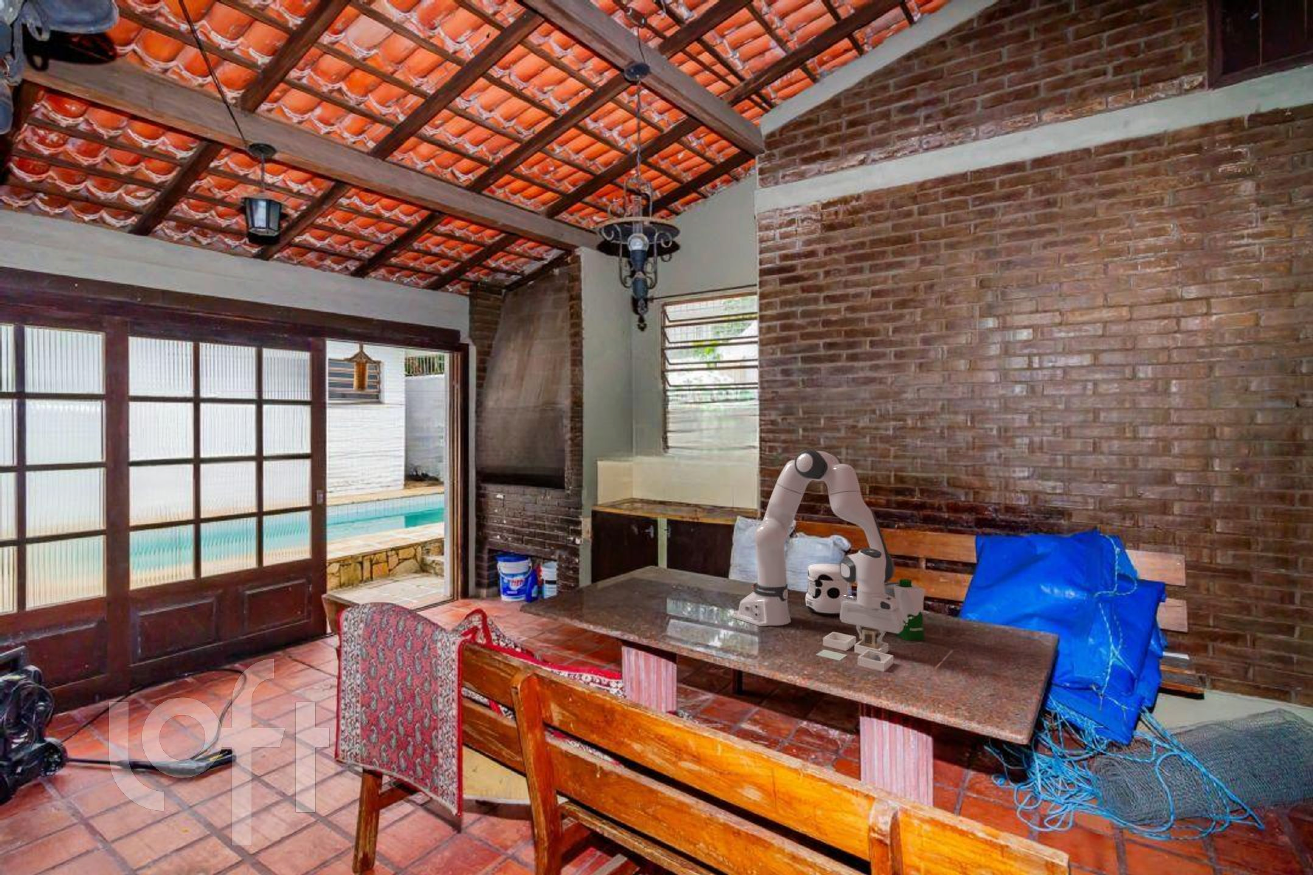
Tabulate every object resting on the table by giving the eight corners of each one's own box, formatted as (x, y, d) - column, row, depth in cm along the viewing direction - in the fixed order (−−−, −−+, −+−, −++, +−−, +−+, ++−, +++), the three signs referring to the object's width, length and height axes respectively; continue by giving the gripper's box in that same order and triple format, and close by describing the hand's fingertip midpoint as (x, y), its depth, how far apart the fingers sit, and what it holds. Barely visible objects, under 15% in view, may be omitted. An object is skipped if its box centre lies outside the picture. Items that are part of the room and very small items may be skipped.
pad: (816, 656, 202) (816, 654, 202) (823, 651, 207) (823, 649, 207) (839, 662, 197) (839, 660, 197) (847, 656, 202) (847, 654, 202)
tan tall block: (862, 651, 205) (862, 630, 205) (867, 647, 208) (866, 627, 208) (874, 654, 202) (874, 632, 202) (879, 650, 205) (879, 629, 205)
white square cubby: (854, 653, 204) (854, 644, 204) (863, 647, 211) (863, 638, 211) (879, 659, 199) (879, 650, 199) (888, 652, 206) (888, 643, 205)
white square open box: (857, 666, 194) (857, 656, 193) (867, 658, 200) (867, 649, 200) (884, 672, 188) (884, 663, 188) (893, 664, 195) (893, 655, 195)
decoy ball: (868, 664, 194) (868, 654, 194) (872, 661, 196) (872, 652, 196) (878, 666, 192) (878, 657, 192) (882, 663, 194) (882, 654, 194)
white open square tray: (823, 646, 211) (823, 637, 211) (833, 640, 218) (833, 631, 218) (846, 651, 206) (846, 642, 206) (855, 645, 213) (855, 636, 212)
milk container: (855, 609, 254) (855, 565, 254) (842, 620, 240) (842, 574, 239) (814, 603, 264) (813, 561, 263) (799, 613, 249) (799, 569, 249)
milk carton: (911, 632, 225) (911, 577, 225) (928, 640, 216) (928, 583, 216) (890, 635, 223) (890, 579, 222) (907, 643, 214) (907, 585, 214)
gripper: (836, 595, 209) (836, 636, 209) (898, 606, 196) (898, 650, 196) (844, 591, 214) (844, 631, 214) (905, 602, 201) (905, 644, 201)
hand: (870, 640), depth 205 cm, fingers closed on tan tall block, 4 cm apart
